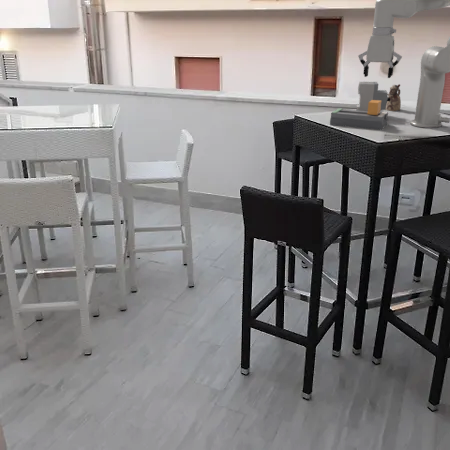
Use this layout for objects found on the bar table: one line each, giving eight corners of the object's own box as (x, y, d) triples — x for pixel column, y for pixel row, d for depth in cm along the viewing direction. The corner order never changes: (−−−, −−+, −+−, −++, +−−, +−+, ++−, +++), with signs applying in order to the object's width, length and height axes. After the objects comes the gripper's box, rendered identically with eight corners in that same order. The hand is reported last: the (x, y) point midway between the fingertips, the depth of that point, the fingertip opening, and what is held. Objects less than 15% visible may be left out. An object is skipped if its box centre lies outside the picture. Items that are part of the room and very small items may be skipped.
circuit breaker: (388, 118, 223) (392, 84, 217) (356, 117, 226) (359, 83, 220) (387, 114, 230) (390, 81, 224) (355, 114, 232) (358, 81, 226)
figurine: (382, 108, 243) (385, 83, 238) (395, 107, 245) (398, 83, 240) (389, 111, 237) (393, 85, 232) (402, 110, 238) (406, 85, 233)
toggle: (379, 117, 210) (381, 100, 207) (376, 120, 205) (378, 102, 202) (370, 116, 212) (371, 99, 209) (366, 119, 207) (368, 102, 204)
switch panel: (387, 124, 212) (388, 111, 210) (381, 129, 203) (382, 116, 201) (337, 119, 222) (338, 107, 219) (329, 124, 213) (330, 112, 211)
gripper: (406, 32, 193) (401, 76, 200) (363, 31, 201) (359, 74, 208) (403, 33, 187) (397, 79, 195) (358, 32, 195) (354, 77, 202)
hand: (377, 76), depth 201 cm, fingers open, 9 cm apart
